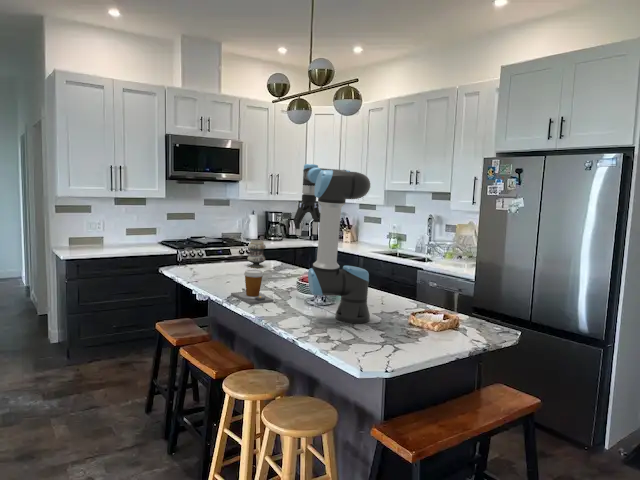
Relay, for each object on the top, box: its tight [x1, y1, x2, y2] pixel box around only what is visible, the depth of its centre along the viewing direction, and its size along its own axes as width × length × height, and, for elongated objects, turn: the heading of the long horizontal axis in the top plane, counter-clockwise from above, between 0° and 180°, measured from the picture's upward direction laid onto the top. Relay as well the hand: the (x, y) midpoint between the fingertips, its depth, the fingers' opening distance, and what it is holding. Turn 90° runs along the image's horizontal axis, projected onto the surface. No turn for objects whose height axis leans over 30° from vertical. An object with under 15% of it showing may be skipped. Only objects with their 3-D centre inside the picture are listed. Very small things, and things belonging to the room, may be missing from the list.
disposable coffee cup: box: [243, 269, 264, 297], centre depth 239 cm, size 10×10×12 cm
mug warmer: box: [230, 291, 275, 306], centre depth 239 cm, size 20×13×3 cm, turn 37°
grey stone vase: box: [247, 239, 267, 269], centre depth 326 cm, size 12×12×18 cm
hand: (306, 234), depth 253 cm, fingers open, 13 cm apart
